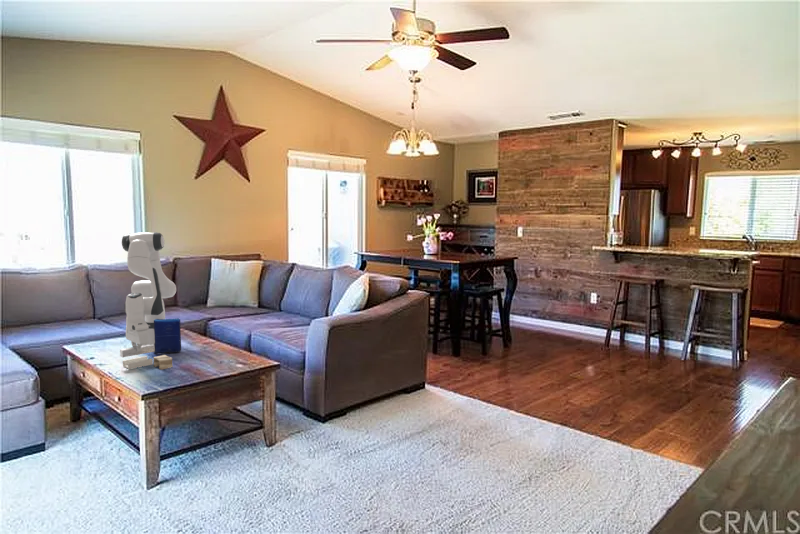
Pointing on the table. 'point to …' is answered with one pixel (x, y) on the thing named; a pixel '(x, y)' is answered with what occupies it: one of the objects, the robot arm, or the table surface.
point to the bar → (133, 351)
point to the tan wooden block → (163, 362)
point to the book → (167, 336)
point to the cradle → (137, 362)
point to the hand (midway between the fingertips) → (136, 350)
